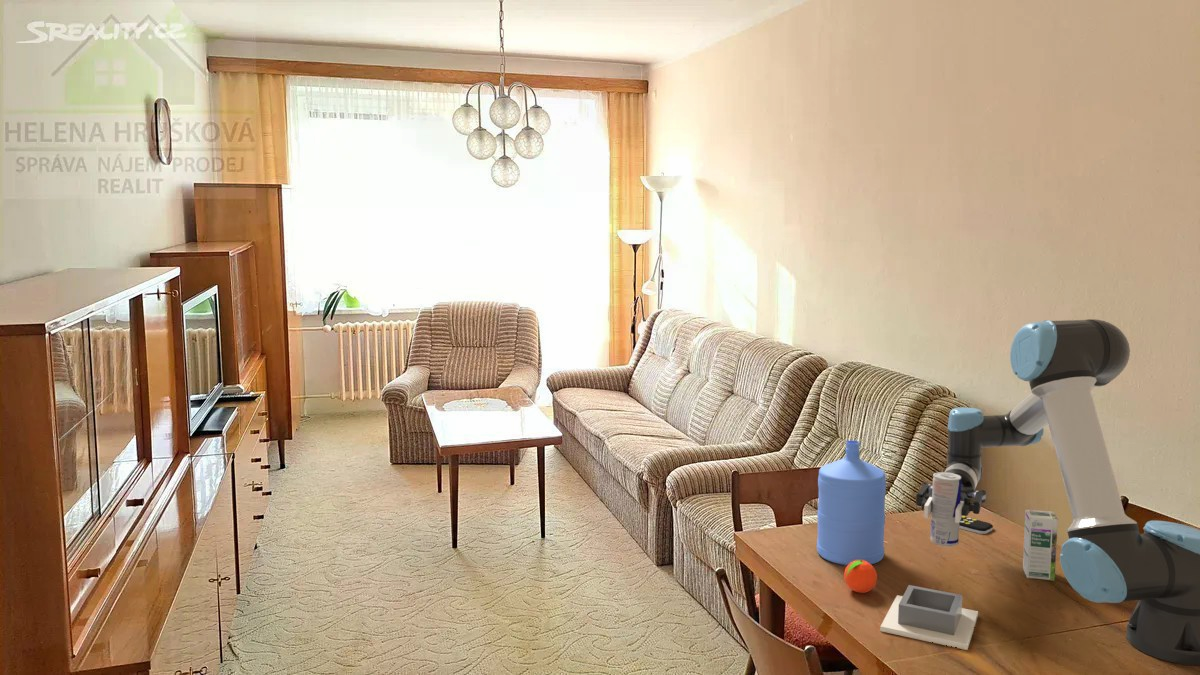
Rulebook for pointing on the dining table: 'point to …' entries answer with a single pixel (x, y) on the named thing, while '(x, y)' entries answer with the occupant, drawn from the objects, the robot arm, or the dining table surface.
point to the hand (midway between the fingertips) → (941, 514)
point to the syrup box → (1040, 544)
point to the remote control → (975, 525)
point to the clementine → (860, 576)
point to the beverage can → (945, 509)
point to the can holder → (931, 617)
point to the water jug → (851, 509)
